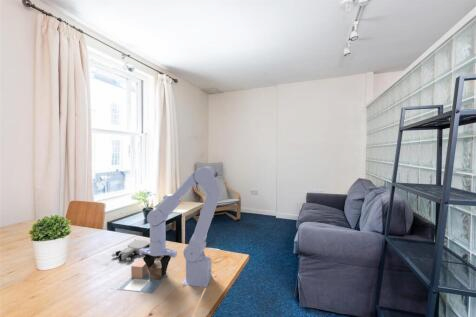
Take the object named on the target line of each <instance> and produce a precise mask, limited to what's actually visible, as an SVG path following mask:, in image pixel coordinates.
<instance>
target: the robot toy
mask: <svg viewBox="0 0 476 317" xmlns="http://www.w3.org/2000/svg"><path fill="white" fill-rule="evenodd" d="M142 248H150V241H147V240H144V239H137V238H136V239H134V240H133V241H131V242H129V243H128V245H127V247H126V248H123V249H121V250H118V251H115V252H114V253H112V254H111V256H112V258H113V257H118V260H121V261H125V260H126V262H129V261H131V260H133V258H134V256H135V255H136V254H138V255H139V250H140V249H142Z"/></svg>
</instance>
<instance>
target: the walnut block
mask: <svg viewBox="0 0 476 317" xmlns="http://www.w3.org/2000/svg"><path fill="white" fill-rule="evenodd" d="M164 276H165V275H164ZM164 276H163V275H162V265H161V261H155V262H154V264H153V265H152V266H151V267H150V279H153V280H161V279H162V278H163V277H164Z"/></svg>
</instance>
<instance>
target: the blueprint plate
mask: <svg viewBox="0 0 476 317" xmlns="http://www.w3.org/2000/svg"><path fill="white" fill-rule="evenodd" d="M168 274H169V273H167V272H166V274H165V276H164V277H163V278H162V279H161V280H153V279H150V273H149V272H148V273H147V274H146V275H145V276H144V277H143V278H131V277H130V278H128V279H127V281H125V282H124V283H123V284H122V285H121V286H120V287H119V288H118V289H117V291H128V292H135V293H144V294H145V293H148V294H153V293H154V292H155V291H156V290H157V288H158V287H159V285H161V284H162V282H163V280H164V279H166V277H167V276H168Z"/></svg>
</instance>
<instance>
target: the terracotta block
mask: <svg viewBox="0 0 476 317" xmlns="http://www.w3.org/2000/svg"><path fill="white" fill-rule="evenodd" d="M130 268H131V271H130V272H131V273H130V274H131V275H130V276H131V277H130V278H143V277H144V276H145V275H146V274H147V273H148V272H149V269H148V267H147V265H146V263H145V262H144V260H143V259H142V260H139V259H138V260H137V261H136V262H134V263H133V264H132V265H131V267H130Z"/></svg>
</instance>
